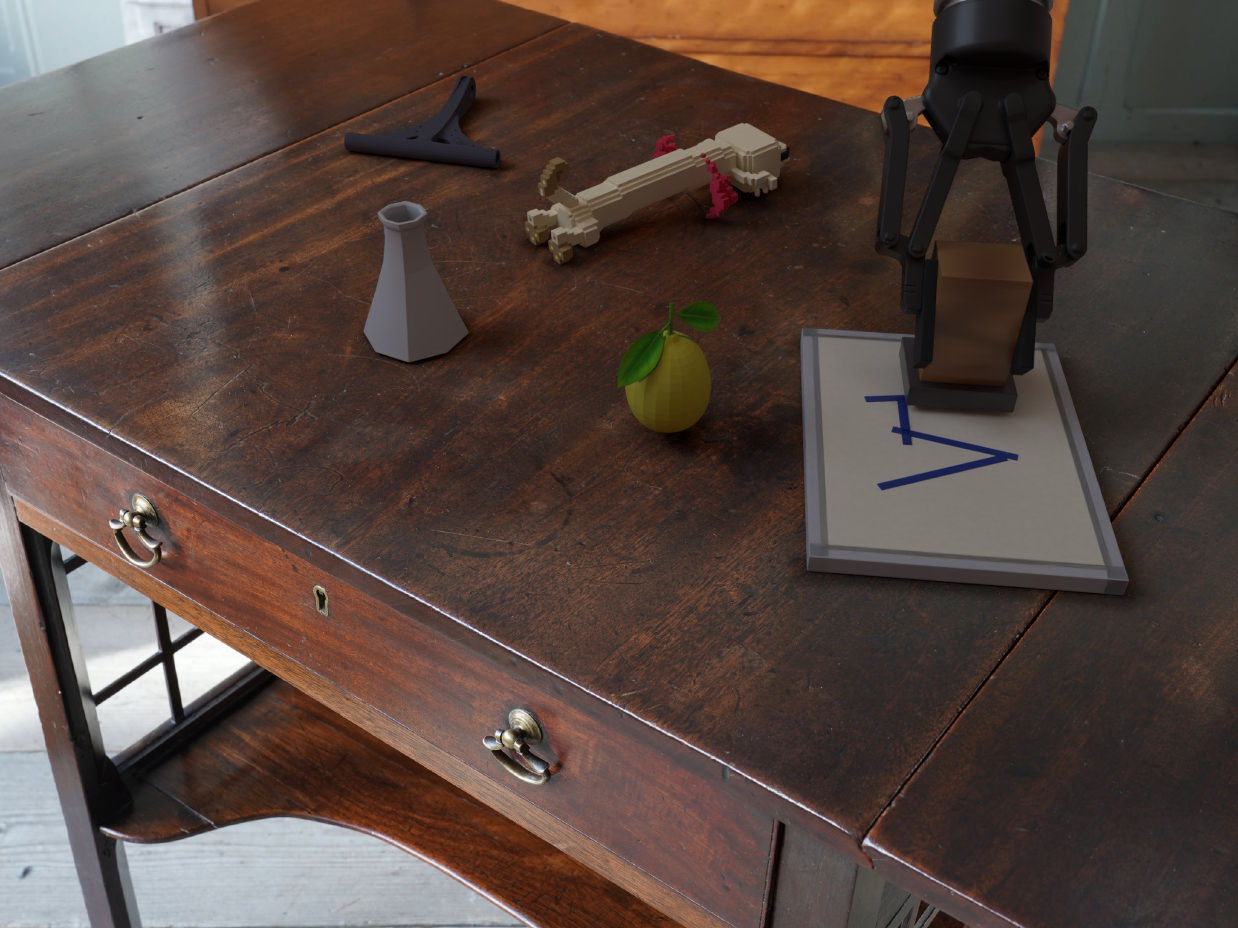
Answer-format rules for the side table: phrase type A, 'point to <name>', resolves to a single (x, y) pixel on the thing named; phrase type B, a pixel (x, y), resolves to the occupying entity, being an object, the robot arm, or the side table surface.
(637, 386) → the lemon
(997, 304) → the eraser
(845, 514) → the board
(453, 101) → the bracket
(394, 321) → the flask
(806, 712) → the side table surface
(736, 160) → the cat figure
